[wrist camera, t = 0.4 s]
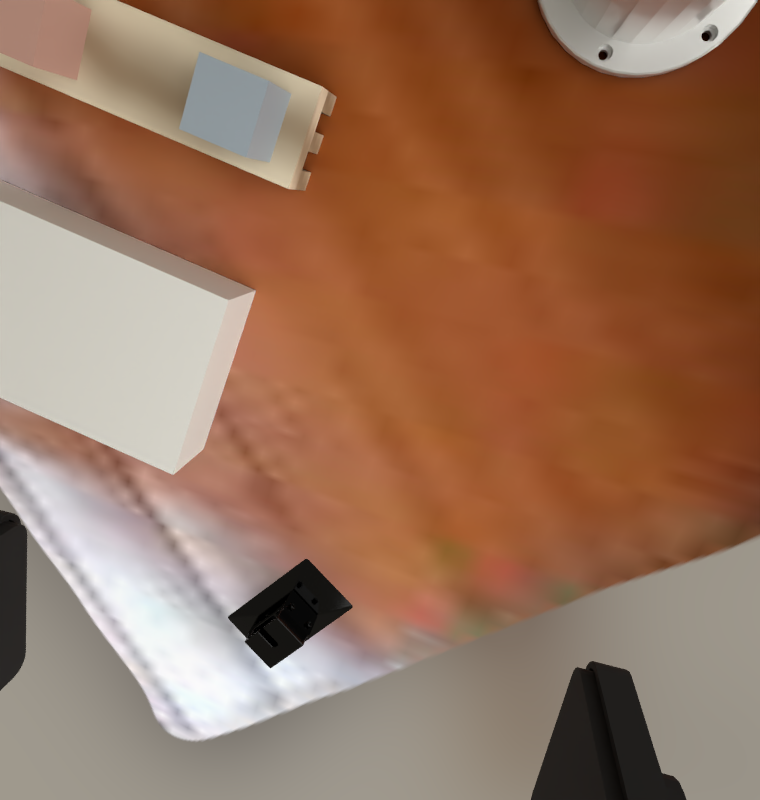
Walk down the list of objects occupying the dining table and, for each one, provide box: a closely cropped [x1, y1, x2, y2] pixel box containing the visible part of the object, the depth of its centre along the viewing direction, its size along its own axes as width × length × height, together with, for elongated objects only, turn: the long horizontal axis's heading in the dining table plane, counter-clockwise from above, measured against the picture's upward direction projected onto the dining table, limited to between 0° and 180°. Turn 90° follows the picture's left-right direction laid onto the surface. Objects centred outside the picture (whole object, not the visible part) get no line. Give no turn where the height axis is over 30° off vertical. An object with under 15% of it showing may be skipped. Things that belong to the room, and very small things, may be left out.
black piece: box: [228, 559, 353, 668], centre depth 50 cm, size 12×7×5 cm, turn 132°
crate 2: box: [179, 52, 291, 162], centre depth 36 cm, size 4×4×4 cm
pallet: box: [0, 0, 337, 191], centre depth 40 cm, size 6×20×4 cm, turn 68°
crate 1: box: [0, 0, 92, 80], centre depth 36 cm, size 4×4×4 cm
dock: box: [0, 180, 256, 475], centre depth 45 cm, size 13×20×5 cm, turn 68°
